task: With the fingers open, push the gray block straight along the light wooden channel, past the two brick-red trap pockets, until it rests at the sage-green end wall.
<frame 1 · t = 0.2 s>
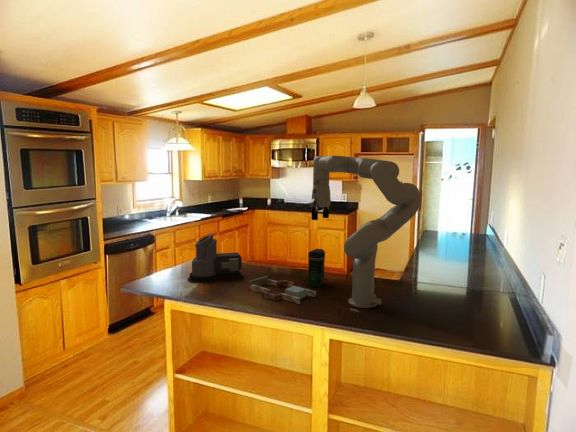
hand: (320, 218, 183), 36 cm above the counter, tool pointing down, fingers open, 9 cm apart
coffee jar: (316, 285, 200), on the counter
juicer: (215, 278, 210), on the counter
gray block: (295, 297, 180), resting in trap channel
trap channel: (282, 293, 185), on the counter
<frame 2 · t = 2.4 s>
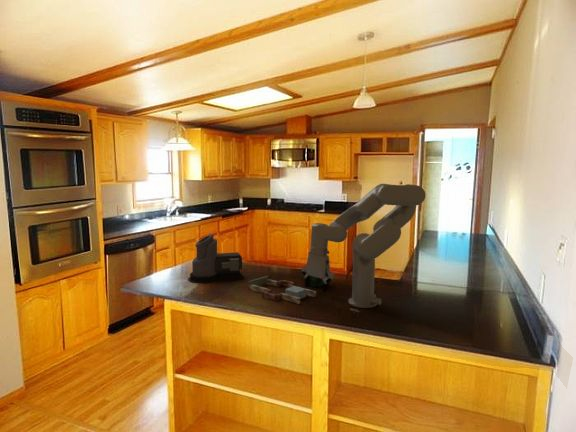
hand: (316, 289, 171), 7 cm above the counter, tool pointing down, fingers open, 9 cm apart
nothing on the counter moved.
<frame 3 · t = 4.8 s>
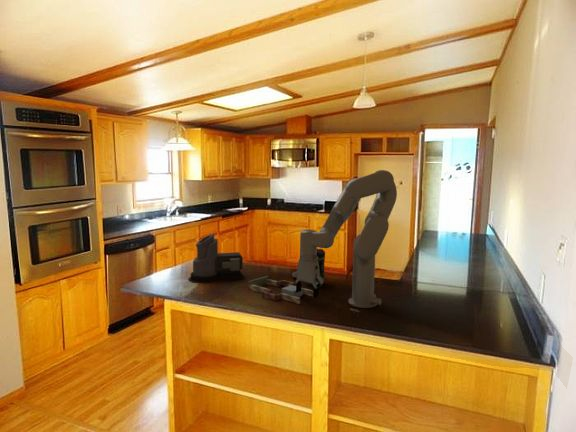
hand: (307, 293, 175), 3 cm above the counter, tool pointing down, fingers open, 9 cm apart
gray block: (292, 296, 182), resting in trap channel
everything else where it was.
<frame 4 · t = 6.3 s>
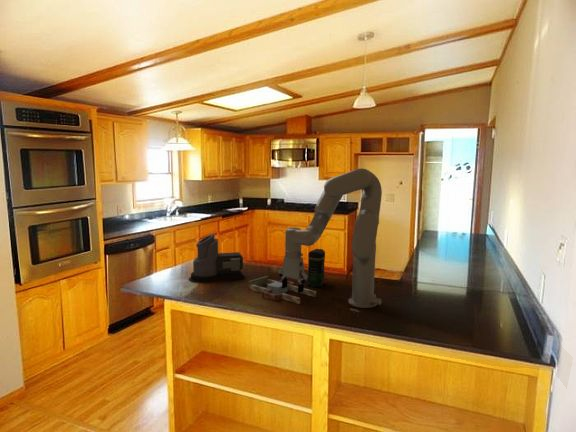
hand: (292, 289, 181), 3 cm above the counter, tool pointing down, fingers open, 9 cm apart
gray block: (277, 292, 187), resting in trap channel
everything else where it was.
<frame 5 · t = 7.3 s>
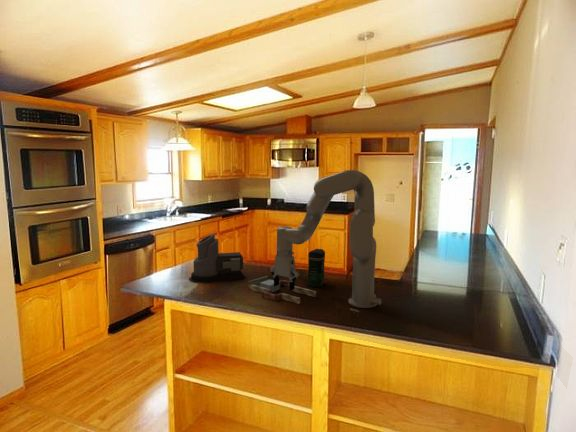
hand: (284, 287, 184), 3 cm above the counter, tool pointing down, fingers open, 9 cm apart
gray block: (269, 290, 191), resting in trap channel, touching gripper
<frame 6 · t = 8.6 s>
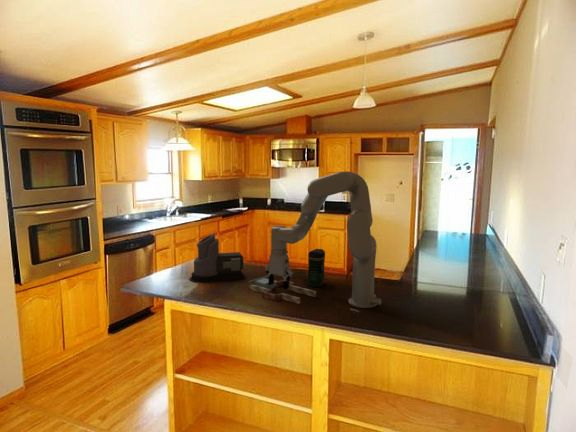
hand: (278, 286, 187), 3 cm above the counter, tool pointing down, fingers open, 9 cm apart
gray block: (264, 288, 193), resting in trap channel, touching gripper
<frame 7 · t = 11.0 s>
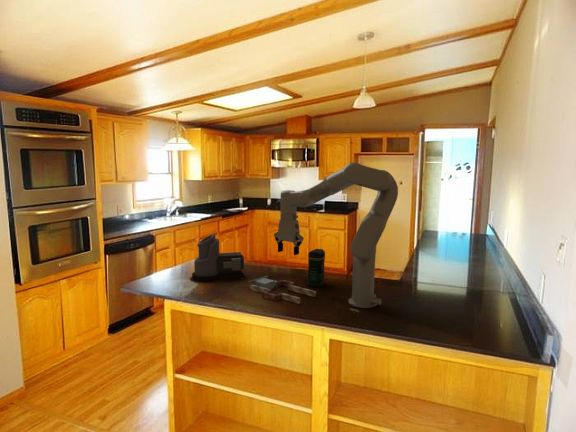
hand: (288, 253, 181), 20 cm above the counter, tool pointing down, fingers open, 9 cm apart
gray block: (264, 288, 193), resting in trap channel
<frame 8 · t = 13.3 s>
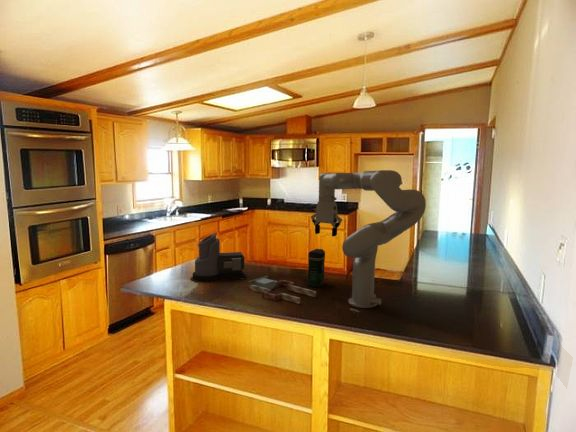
hand: (325, 234, 184), 28 cm above the counter, tool pointing down, fingers open, 9 cm apart
at the end: gray block 1.4 cm from the target spot, resting in trap channel; gray block tilted 0°; coffee jar moved 0.2 cm from its start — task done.
